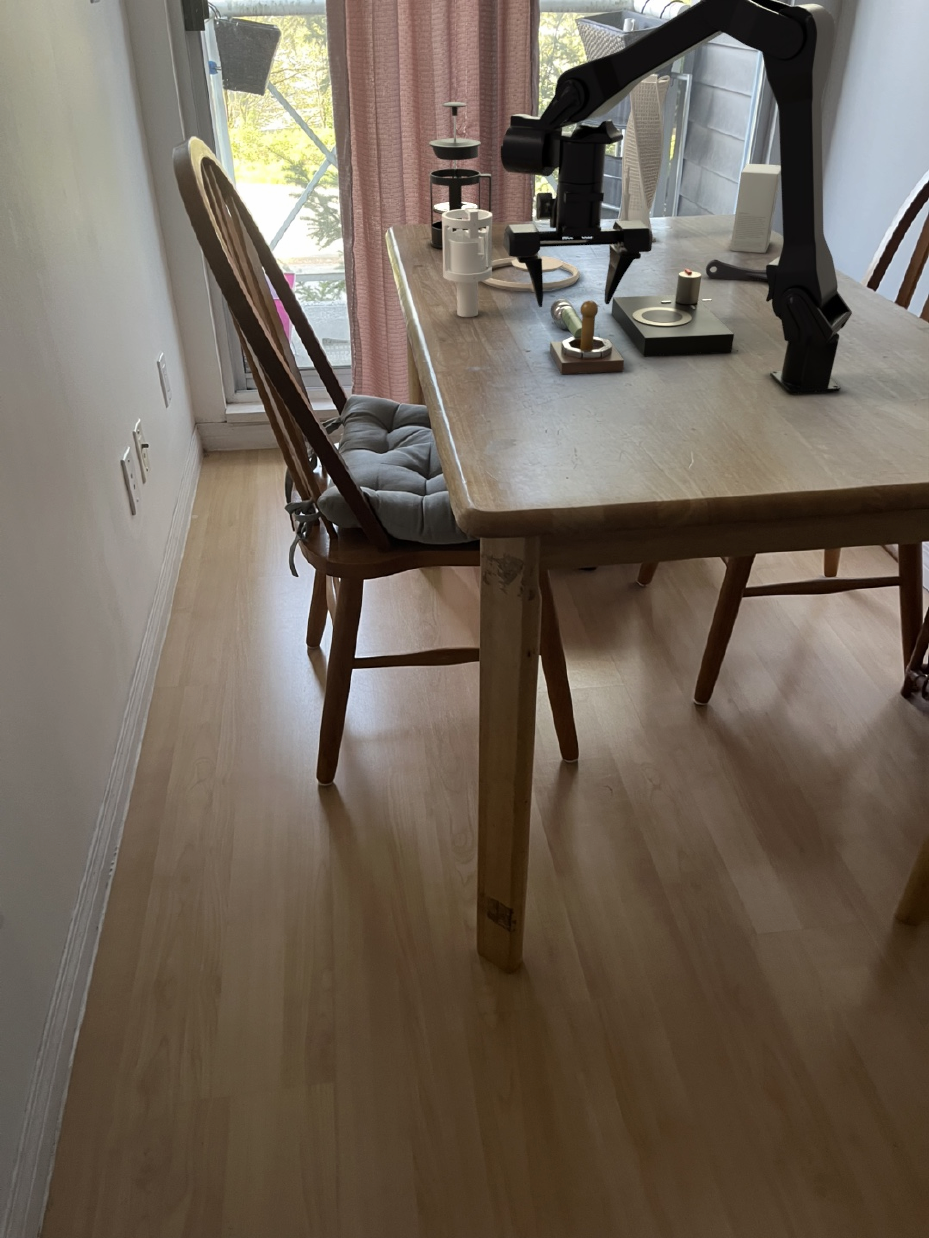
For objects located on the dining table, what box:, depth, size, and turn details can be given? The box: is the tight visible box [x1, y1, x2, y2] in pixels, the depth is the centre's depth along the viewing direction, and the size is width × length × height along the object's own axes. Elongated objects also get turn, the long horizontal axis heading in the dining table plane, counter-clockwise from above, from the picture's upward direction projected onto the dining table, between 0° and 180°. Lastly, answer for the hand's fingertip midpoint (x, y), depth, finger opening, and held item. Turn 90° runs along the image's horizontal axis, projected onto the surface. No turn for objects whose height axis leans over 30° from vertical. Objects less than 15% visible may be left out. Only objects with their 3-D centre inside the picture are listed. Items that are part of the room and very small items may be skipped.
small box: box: [730, 163, 781, 254], centre depth 167 cm, size 8×6×13 cm
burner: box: [633, 307, 692, 327], centre depth 130 cm, size 8×8×1 cm
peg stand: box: [549, 299, 625, 375], centre depth 121 cm, size 8×8×8 cm
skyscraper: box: [618, 73, 671, 243], centre depth 169 cm, size 8×8×28 cm
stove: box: [611, 294, 735, 357], centre depth 132 cm, size 18×14×3 cm
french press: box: [428, 101, 492, 251], centre depth 167 cm, size 12×9×23 cm
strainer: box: [441, 207, 493, 318], centre depth 136 cm, size 7×7×15 cm
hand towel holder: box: [481, 255, 581, 294], centre depth 153 cm, size 17×4×20 cm
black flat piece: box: [705, 259, 768, 282], centre depth 153 cm, size 14×15×3 cm
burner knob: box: [675, 268, 702, 305], centre depth 135 cm, size 3×3×4 cm
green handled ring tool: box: [549, 298, 612, 359], centre depth 128 cm, size 21×6×4 cm, turn 6°
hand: (573, 304), depth 128 cm, fingers open, 9 cm apart
